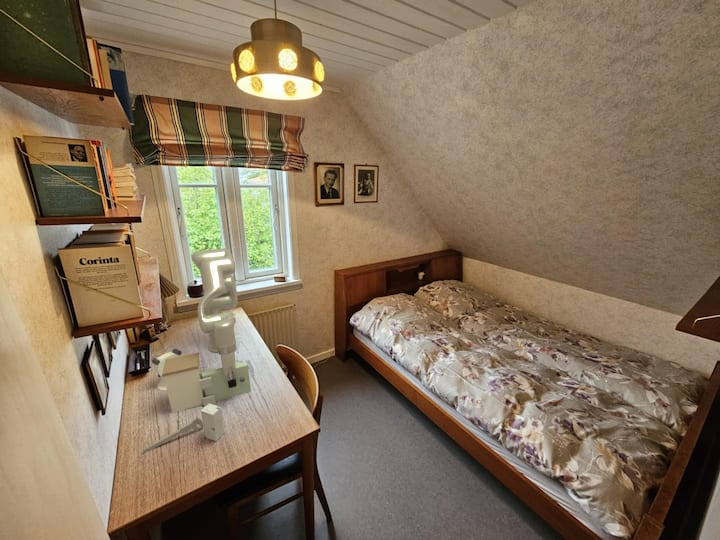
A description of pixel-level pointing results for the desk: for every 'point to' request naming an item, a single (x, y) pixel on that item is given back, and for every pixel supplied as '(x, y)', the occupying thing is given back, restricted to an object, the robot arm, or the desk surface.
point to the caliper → (175, 434)
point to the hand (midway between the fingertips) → (232, 383)
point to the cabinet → (186, 383)
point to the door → (221, 382)
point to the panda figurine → (160, 365)
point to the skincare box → (212, 422)
